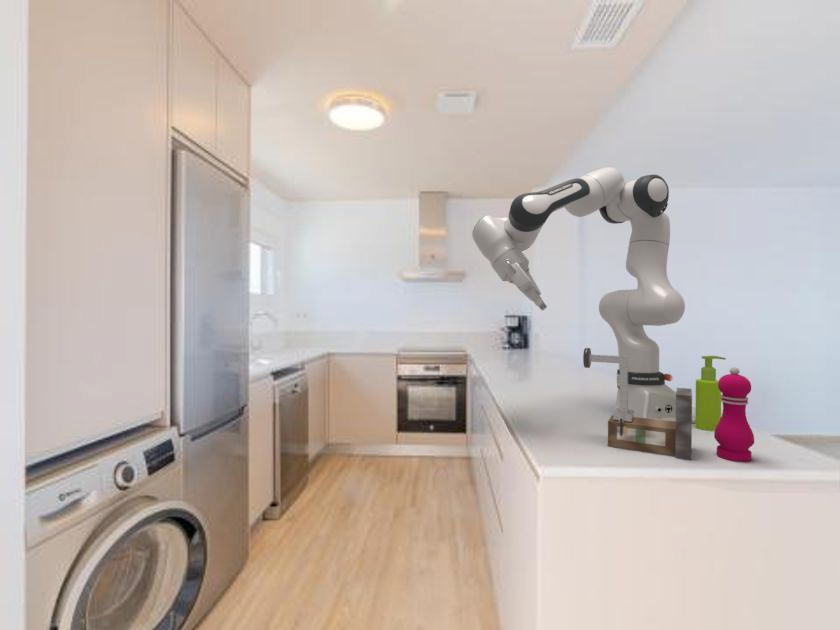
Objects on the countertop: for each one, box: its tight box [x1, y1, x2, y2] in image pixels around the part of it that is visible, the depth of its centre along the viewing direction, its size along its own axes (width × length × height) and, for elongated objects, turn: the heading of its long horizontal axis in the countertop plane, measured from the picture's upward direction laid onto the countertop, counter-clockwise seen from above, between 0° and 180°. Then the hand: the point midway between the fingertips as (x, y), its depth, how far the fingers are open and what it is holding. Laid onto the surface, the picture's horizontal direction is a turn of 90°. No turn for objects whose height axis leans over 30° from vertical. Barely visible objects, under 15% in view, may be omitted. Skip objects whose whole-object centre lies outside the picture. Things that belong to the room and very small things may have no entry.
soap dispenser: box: [694, 355, 727, 432], centre depth 121 cm, size 6×7×20 cm
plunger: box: [582, 347, 634, 436], centre depth 107 cm, size 11×8×20 cm
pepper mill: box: [714, 366, 755, 463], centre depth 97 cm, size 7×7×20 cm
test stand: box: [607, 387, 693, 461], centre depth 103 cm, size 17×10×14 cm, turn 59°
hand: (542, 306), depth 115 cm, fingers open, 8 cm apart
